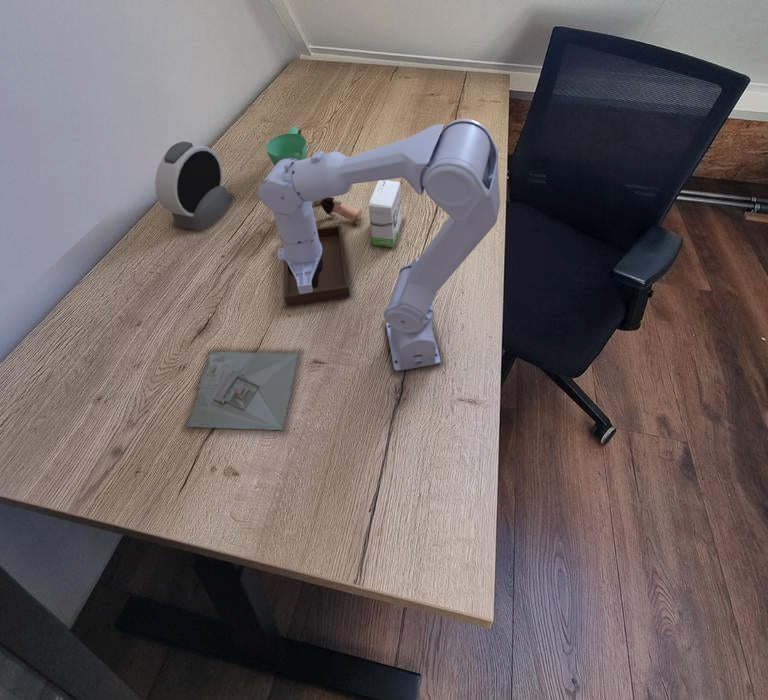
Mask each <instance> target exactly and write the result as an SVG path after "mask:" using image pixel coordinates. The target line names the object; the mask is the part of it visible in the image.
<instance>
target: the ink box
mask: <svg viewBox="0 0 768 700" xmlns="http://www.w3.org/2000/svg"><path fill="white" fill-rule="evenodd" d="M401 186H402V184H401V181H397V180H390V179H386V180H378V181H376V184H375V188H374V189H373V191H372V194H371V197H370V199H369V201H368V215H369V223H370V232H371V243H372V245H374V246H379V247H380V246H381V247H387V248H394V247H395V243H396V241H397V237H398V233H399V230H400V227H401V223H402V220H403V219H402V218H403V217H402V215H403V213H402V187H401Z"/></svg>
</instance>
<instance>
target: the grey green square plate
mask: <svg viewBox="0 0 768 700" xmlns="http://www.w3.org/2000/svg"><path fill="white" fill-rule="evenodd" d="M298 357H299V353H291V352H290V353H289V352H288V353H287V352H286V353H285V352H284V353H283V352H238V351H237V352H235V351H234V352H233V351H211V352H210V354H209V357H208V359H207V361H206V365H205V367H204V371H203V374H202V376H201V379H200V381H199V385H198V389H199V391H198V394H197V398H196V400H195V403H194V406H193V408H192V412H191V413H190V417H189V420H188V423H187V428H204V429H205V428H206V429H207V428H209V429H235V430H236V429H237V430H238V429H240V430H268V431H269V430H270V431H284V428H285V423H286V417H287V412H288V408H289V401H290V397H291V392H292V388H293V382H294V377H295V372H296V369H297V362H298Z"/></svg>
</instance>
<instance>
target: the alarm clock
mask: <svg viewBox="0 0 768 700" xmlns="http://www.w3.org/2000/svg"><path fill="white" fill-rule="evenodd" d="M223 179H224V178H223V167H222V163H221V161H220V158H219V156H218V154H217V153H216V152H215V151H214V150H213V149H212V148H209V147H208V146H203V145H198V144H193V143H192V142H189V141H179V142H177V143H175V144H173V145H172V146H170V147H169V148H168V149H167V151H166V152H165V154H164V155H163V157H162V159H161V160H160V162H159V164H158V166H157V169H156V173H155V181H154V186H155V195H156V198H157V200H158V203H159V204H160V205H161V206H162V208H163V209H164V210H166V211H167V212H169V213H171V214H172V217H173V220H174V224H175V226H177V227H181V228H184V229H189V230H193V231H197V232H202V231H204V230H206V229H208V228H209V227H210V226H212V225H213V224H214V223H215V222H217V220H219V218H220V217H222V215H223V214H224V213H225V212H226V210H227V209H228V207H229V204H230V203H231V200H232V196H231V195H230V193H229V192H228V189H227V188H226V187H225V186H224V185H223Z"/></svg>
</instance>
